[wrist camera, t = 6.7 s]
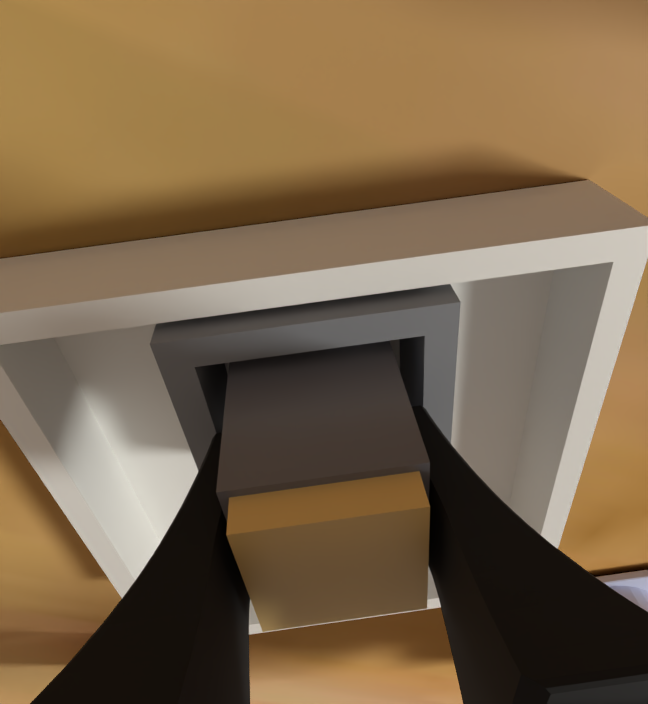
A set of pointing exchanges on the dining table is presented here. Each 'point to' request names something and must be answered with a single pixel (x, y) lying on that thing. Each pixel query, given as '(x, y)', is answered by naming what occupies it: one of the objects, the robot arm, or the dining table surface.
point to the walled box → (320, 345)
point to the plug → (325, 486)
